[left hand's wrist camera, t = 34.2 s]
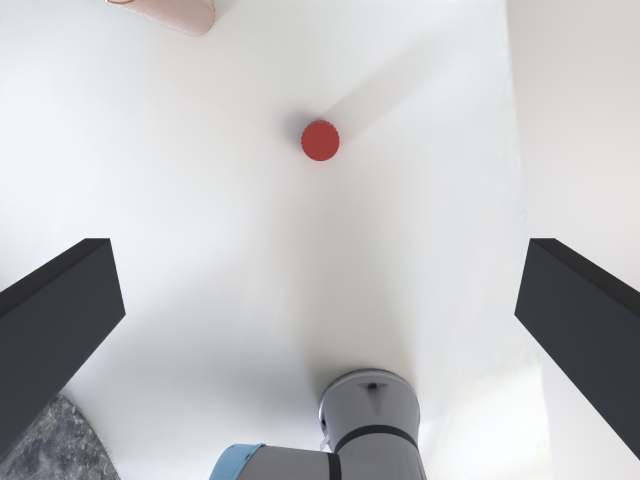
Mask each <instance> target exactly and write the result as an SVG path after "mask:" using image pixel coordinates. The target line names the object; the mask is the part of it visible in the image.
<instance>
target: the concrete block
mask: <svg viewBox="0 0 640 480" xmlns="http://www.w3.org/2000/svg"><path fill="white" fill-rule="evenodd" d="M0 480H120V478H119V476H118V474H117V472H116V470H115V468H114V466H113V465H112V463H111V461H110V459H109V457H108V455H107V453H106V451H105V450H104V448H103V446H102V444H101V442H100V441H99V439H98V438H97V436H96V435H95V433H94V432H93V430H92V428H91V426H90V425H89V424H88V423H87V422H86V420H85V419H84V418H83V416H82V415H81V414H80V413H79V411H78V410H77V409H76V407H75V406H74V405H73V404H72V403H71V402H70V401H69V400H68V399H67V398H66V397H64V396H63V395H61V394H57V395H56V396H55V397H54V399H53V400H52V401H51V402H50V403H49V404H48V405H47V407H46V408H45V409H44V410H43V411H42V412H41V414H40V415H39V416H38V417H37V418H36V419H35V421H34V422H33V423H32V424H31V425H30V426H29V428H28V429H27V430H26V431H25V432H24V433H23V435H22V436H21V437H20V438H19V439H18V440H17V441H16V443H15V444H14V445H13V446H12V447H11V448H10V450H9V451H8V452H7V453H6V454H5V455H4V457H3V458H2V459H1V460H0Z"/></svg>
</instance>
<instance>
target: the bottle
mask: <svg viewBox="0 0 640 480" xmlns="http://www.w3.org/2000/svg"><path fill="white" fill-rule="evenodd" d="M105 1H107V2H109V3H112V4H114V5H117V6H119V7H121V8H124V9H126V10H129V11H131V12H134V13H136V14H139V15H141V16H143V17H146V18H148V19H151V20H153V21H156V22H158V23H160V24H163V25H165V26H168V27H170V28H173V29H175V30H178V31H180V32H182V33H185V34H187V35H191V36H199V35H202V34H204V33H206V32H207V31H208V30H209V29H210V28H211V26H212V24H213V22H214V18H215V9H214V5H213V2H212V0H105Z"/></svg>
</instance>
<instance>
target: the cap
mask: <svg viewBox="0 0 640 480" xmlns="http://www.w3.org/2000/svg"><path fill="white" fill-rule="evenodd" d="M301 139H302V142H301V143H302V148H303V150H304V152H305V153H306V155H307V156H308V157H310V158H311V159H313V160H316V161H325V160H328V159H330V158H331V157H332V156H333V155H334V154H335V153H336V152H337V150H338V147H339V136H338V132H337V131H336V129H335V128H334V127H333V125H331V124H330V123H329V122H325V121H321V120H320V121H316V122H313V123H311V124H310V125H308V127H307V128H305V131H304V132H303V136H302V138H301Z"/></svg>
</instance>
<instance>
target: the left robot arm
mask: <svg viewBox="0 0 640 480" xmlns="http://www.w3.org/2000/svg"><path fill="white" fill-rule="evenodd" d="M125 315H126V313H125V309H124V304H123V299H122V294H121V290H120V285H119V280H118V275H117V270H116V266H115V261H114V256H113V251H112V247H111V242H110V238H85V239H84V240H82V241H80V242H79V243H77V244H76V245H74V246H73V247H71V248H69V249H68V250H66V251H65V252H63V253H62V254H60V255H58V256H57V257H55V258H54V259H52V260H51V261H49V262H47V263H46V264H44V265H43V266H41V267H40V268H38V269H36V270H35V271H33V272H32V273H30V274H29V275H27V276H25V277H24V278H22V279H21V280H19V281H18V282H16V283H14V284H13V285H11V286H10V287H8V288H7V289H5V290H3V291H2V292H0V460H1V459H2V458H3V457H4V455H5V454H6V453H7V452H8V451H9V450H10V448H11V447H12V446H13V445H14V444H15V443H16V441H17V440H18V439H19V438H20V437H21V436H22V435H23V433H24V432H25V431H26V430H27V429H28V428H29V426H30V425H31V424H32V423H33V422H34V421H35V419H36V418H37V417H38V416H39V415H40V414H41V412H42V411H43V410H44V409H45V408H46V407H47V405H48V404H49V403H50V402H51V401H52V400H53V399H54V397H55V396H56V395H57V394H58V393H59V392H60V390H61V389H62V388H63V387H64V386H65V385H66V383H67V382H68V381H69V380H70V379H71V378H72V376H73V375H74V374H75V373H76V372H77V371H78V369H79V368H80V367H81V366H82V365H83V364H84V363H85V361H86V360H87V359H88V358H89V357H90V356H91V354H92V353H93V352H94V351H95V350H96V349H97V347H98V346H99V345H100V344H101V343H102V342H103V340H104V339H105V338H106V337H107V336H108V335H109V333H110V332H111V331H112V330H113V329H114V328H115V326H116V325H117V324H118V323H119V322H120V321H121V320H122V318H123V317H124V316H125ZM514 315H515V316H516V317H517V318H518V320H519V321H520V322H521V323H522V324H523V325H524V326H525V328H526V329H527V330H528V331H529V332H530V333H531V335H532V336H533V337H534V338H535V339H536V340H537V342H538V343H539V344H540V345H541V346H542V347H543V349H544V350H545V351H546V352H547V353H548V354H549V356H550V357H551V358H552V359H553V360H554V361H555V362H556V364H557V365H558V366H559V367H560V368H561V369H562V371H563V372H564V373H565V374H566V375H567V376H568V378H569V379H570V380H571V381H572V382H573V383H574V385H575V386H576V387H577V388H578V389H579V390H580V392H581V393H582V394H583V395H584V396H585V397H586V399H587V400H588V401H589V402H590V403H591V404H592V405H593V407H594V408H595V409H596V410H597V411H598V412H599V414H600V415H601V416H602V417H603V418H604V419H605V421H606V422H607V423H608V424H609V425H610V426H611V428H612V429H613V430H614V431H615V432H616V433H617V435H618V436H619V437H620V438H621V439H622V440H623V441H624V443H625V444H626V445H627V446H628V447H629V448H630V450H631V451H632V452H633V453H634V454H635V455H636V457H637V458H638V459H639V460H640V292H638V291H637V290H635V289H633V288H632V287H630V286H629V285H627V284H626V283H624V282H622V281H621V280H619V279H618V278H616V277H615V276H613V275H611V274H610V273H608V272H607V271H605V270H604V269H602V268H600V267H599V266H597V265H596V264H594V263H593V262H591V261H589V260H588V259H586V258H585V257H583V256H582V255H580V254H578V253H577V252H575V251H574V250H572V249H571V248H569V247H567V246H566V245H564V244H563V243H561V242H560V241H558V240H556V239H555V238H530V242H529V247H528V251H527V256H526V261H525V266H524V270H523V275H522V280H521V285H520V290H519V294H518V299H517V304H516V309H515V313H514ZM320 423H321V428H322V431H323V433H324V436H325V438H324V440H323V441H322V443H321V444H320V451H311V450H302V449H293V448H284V447H275V446H266V444H263V443H261V444H258V445H246V444H235V445H232V446H230V447H229V448H227V449H226V450H225V451H224V452H223V453H222V455H221V456H220V458H219V459H218V461H217V463H216V465H215V467H214V469H213V471H212V474H211V476H210V478H209V480H427V478H426V475H425V471H424V468H423V464H422V461H421V457H420V454H419V450H418V446H417V445H418V430H419V423H420V408H419V403H418V400H417V397H416V394H415V392H414V390H413V389H412V387H411V386H410V385H409V384H408V383H407V382H406V381H405V380H404V379H402V378H401V377H399V376H397V375H395V374H393V373H390V372H387V371H382V370H374V369H368V370H359V371H355V372H351V373H349V374H346V375H344V376H342V377H340V378H339V379H337V380H336V381H334V382H333V383H332V384H331V385H330V386H329V387H328V388H327V390H326V391H325V393H324V394H323V396H322V399H321V402H320ZM327 443H328V445H329V448H330V450H331V453H327V452H321V451H322V450H323V448H324V447H325V445H326V444H327Z"/></svg>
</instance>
